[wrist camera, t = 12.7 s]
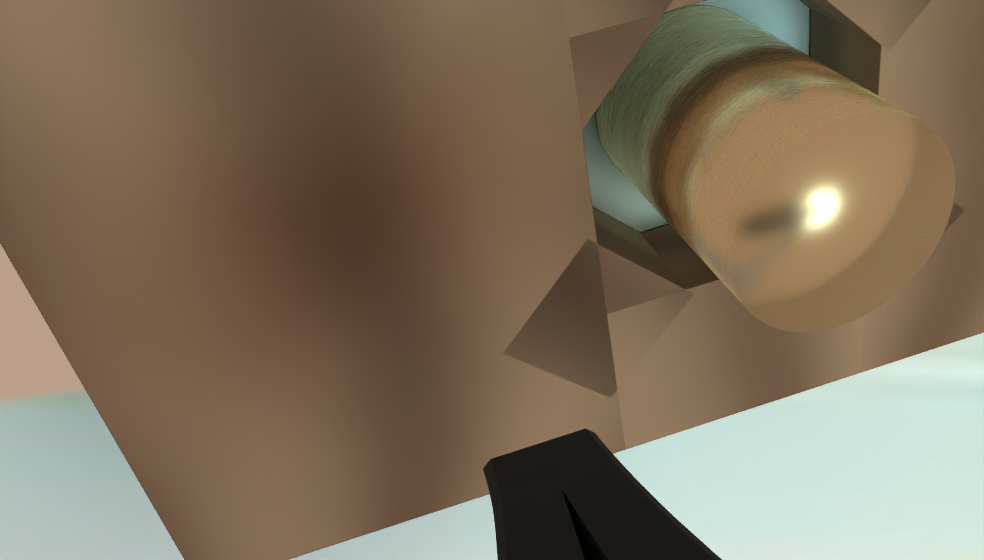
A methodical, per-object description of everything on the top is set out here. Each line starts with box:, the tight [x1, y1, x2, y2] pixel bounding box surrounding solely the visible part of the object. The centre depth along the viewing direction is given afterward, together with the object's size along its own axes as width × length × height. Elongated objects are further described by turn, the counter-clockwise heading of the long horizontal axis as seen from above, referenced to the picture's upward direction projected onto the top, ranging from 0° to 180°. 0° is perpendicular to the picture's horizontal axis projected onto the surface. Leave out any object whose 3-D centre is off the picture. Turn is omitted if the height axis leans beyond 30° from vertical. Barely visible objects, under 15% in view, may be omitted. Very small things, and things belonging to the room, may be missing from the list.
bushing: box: [596, 5, 955, 332], centre depth 17 cm, size 4×4×6 cm
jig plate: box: [0, 0, 984, 560], centre depth 18 cm, size 20×14×2 cm
